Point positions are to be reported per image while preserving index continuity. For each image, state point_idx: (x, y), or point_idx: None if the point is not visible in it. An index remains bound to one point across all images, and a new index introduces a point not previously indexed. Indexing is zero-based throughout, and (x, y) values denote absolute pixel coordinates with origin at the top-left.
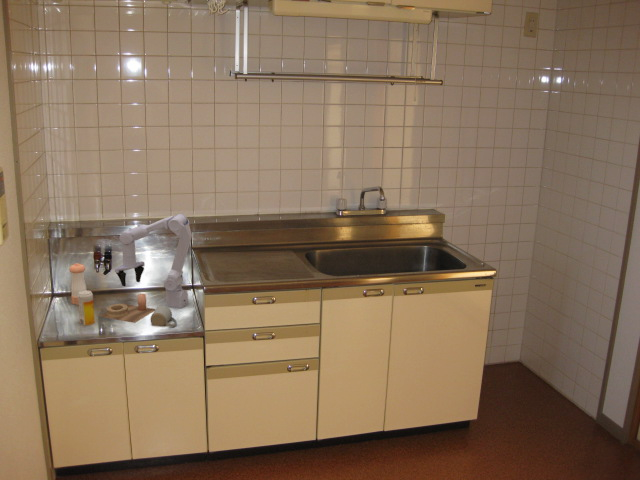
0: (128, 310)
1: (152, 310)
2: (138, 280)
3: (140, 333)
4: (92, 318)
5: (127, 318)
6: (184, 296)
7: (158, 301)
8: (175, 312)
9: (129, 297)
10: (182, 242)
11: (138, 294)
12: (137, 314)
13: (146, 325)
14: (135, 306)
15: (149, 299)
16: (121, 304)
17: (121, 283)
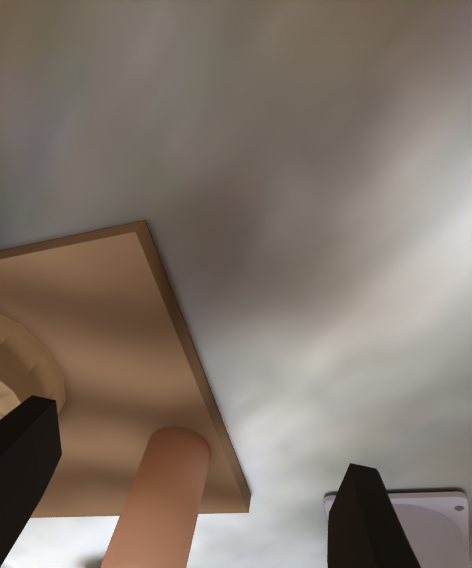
0: (86, 390)
1: (214, 502)
2: (330, 552)
3: None
4: None
5: None
6: None
7: (441, 403)
8: (315, 564)
9: (394, 71)
10: None
11: (122, 563)
12: (96, 471)
13: (76, 536)
14: (180, 380)
15: (450, 313)
16: (7, 398)
17: (1, 421)
